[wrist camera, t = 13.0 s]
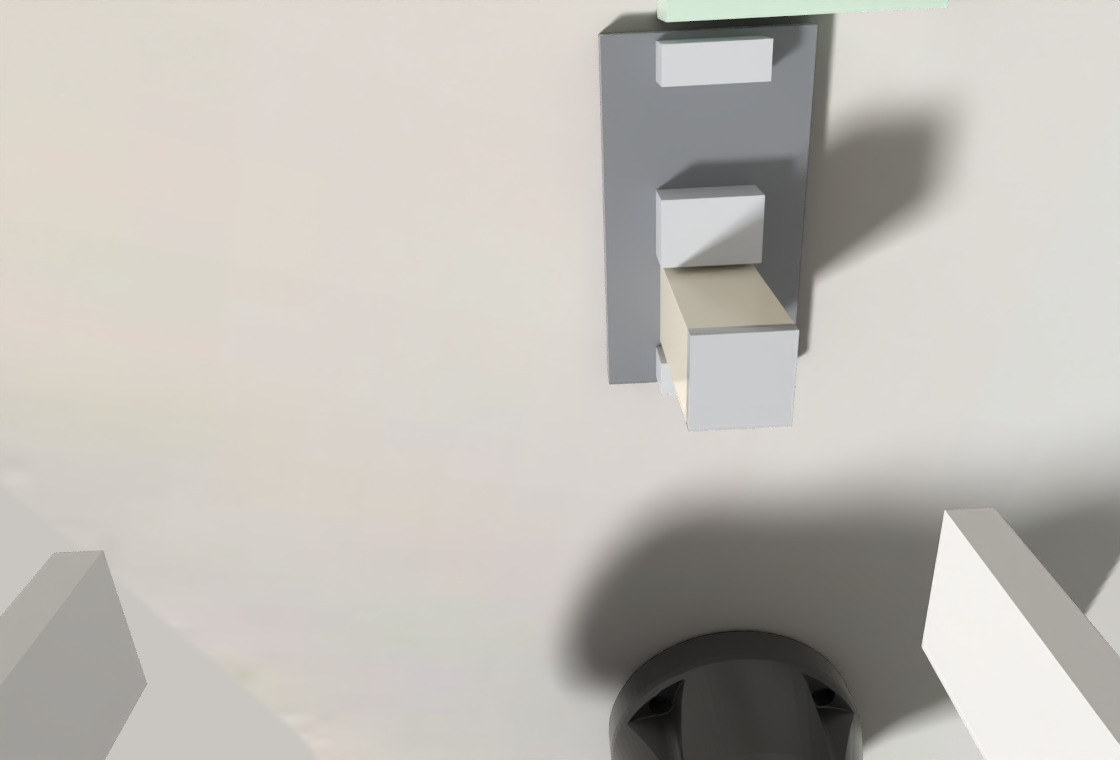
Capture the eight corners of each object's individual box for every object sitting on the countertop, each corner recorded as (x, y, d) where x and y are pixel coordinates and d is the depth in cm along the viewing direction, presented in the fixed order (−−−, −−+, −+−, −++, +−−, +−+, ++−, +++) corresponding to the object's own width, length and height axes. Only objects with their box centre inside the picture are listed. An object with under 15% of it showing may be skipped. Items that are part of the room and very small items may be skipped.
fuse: (743, 336, 42) (792, 426, 34) (660, 340, 42) (688, 431, 34) (747, 256, 40) (799, 330, 32) (660, 260, 40) (690, 335, 32)
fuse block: (786, 364, 44) (803, 392, 41) (607, 374, 44) (612, 402, 41) (809, 22, 37) (832, 27, 34) (598, 34, 37) (603, 39, 34)
